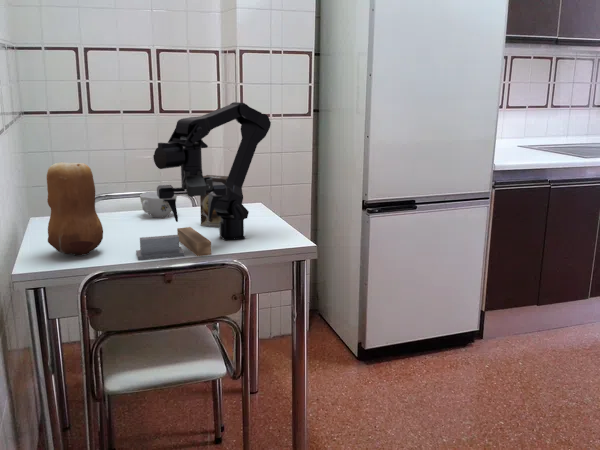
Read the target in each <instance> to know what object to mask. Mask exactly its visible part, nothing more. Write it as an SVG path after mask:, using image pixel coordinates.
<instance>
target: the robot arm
mask: <svg viewBox="0 0 600 450" xmlns="http://www.w3.org/2000/svg"><path fill="white" fill-rule="evenodd" d="M234 120H235V121H236V122H237V123H238V124H240V125H241V126H240V134H241V140H240V143H239V145H238V148H237V150H236V153H235V156H234V159H233V162H232V165H231V168H230V170H229V174H228V178H227V181H226V183H225V184H223V183H222V182H216V183H213V180H212V177H205V178H203V176H204V175H203V163H202V159H203V158H202V149H207V148H208V147H209V145H208V144H207V143H206V142H204V141H203V139H204V138H205V137H207V136H208V135H209V133H210V132H211V131H213V129H216V128H218V127H220V126H223V125H225V124H227V123H230V122H233V121H234ZM271 123H272V122H271V121H270V117H269V115H268V114H267V113H262V112H261V111H258V110H257V109H254V108H252V107H251V106H249V105H248V104H247V103H245V102H240V101H239V102H236V101H234V102H231V103H230V104H228V105H226V106H223V107H220V108H218V109H216V110H213V111H210V112H209V113H206V114H203V115H200V116H199V115H198V116H190V117H183V118H181V119H178V120H177V121H176V125H175V128H174V130H173V132H172V133H171V136H170V138H169V139H168V141H167V142H158V143H157V147H156V149H155V150H154V154H153V157H152V158H153V162H154V164H155V166H156V168H157V169H160V170H164V169H171V168H180V178H181V180H180V181H181V187H174V186H173V185H172V184H166V185H165V184H164V185H157V187H156V192H157V196H158V197H159V199H163V200H164V201H167V202H168V203H169V205H170V207H171V210H172V211H171V212H172V215H173V217H174V221H175V222H176V223H179V222H178V221H179V220H178V219H179V218H178V217H179V216H178V210H177V205H176V203H177V200H176V201H175V198H174V197H173V196H174V195H176V194H177V195H187V196H188V197H191V198H193V197H198V196H199V197H200V196H205V195H206V193H209V197H208V218H209V220H210V219H211V217H212V213H213V210H214V209H215V211H216V214H217V216H218V217H219V216H220V217H221V222H219V227H218V228H219V229H218V231H219V236H220V237H221V238H222V240H224V241H232V240H233V241H235V240H243V239H246V236H245V235H244V233H245V232H244V226H245V223H244V221H245V219H246V220H247V219H248V217H249V213H250V212H249V210H248V209H247V208H246V207H245V206H244V205H243V201H244V194H243V185H244V183H245V180H246V178H247V175H248V171H249V168H250V167H251V163H252V160H253V158H254V154H255V152H256V149H257V147H258V144H259V143H261V142H262V140H263V139H264V138H266V137H267V134H268V133H269V130H270V128H271V125H272V124H271Z"/></svg>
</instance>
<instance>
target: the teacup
mask: <svg viewBox="0 0 600 450" xmlns="http://www.w3.org/2000/svg"><path fill="white" fill-rule="evenodd" d="M173 197H174V198H175V201H176V202H177V197H178V194H176V195H174V196H173ZM139 198H140V203H141V206H142V207H141V208H142V211H144V213H146V214H148V215H150V216H151V218H156V217H160V218H167V217H169V215H170V214H171V212H172V210H171V207H170V205H169V203H168V202H167V201H164V200H163V199H159V197H158V196H157V191H147V192H146V191H145V192H143V193H141V194H140V195H139ZM166 216H167V217H166Z"/></svg>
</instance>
